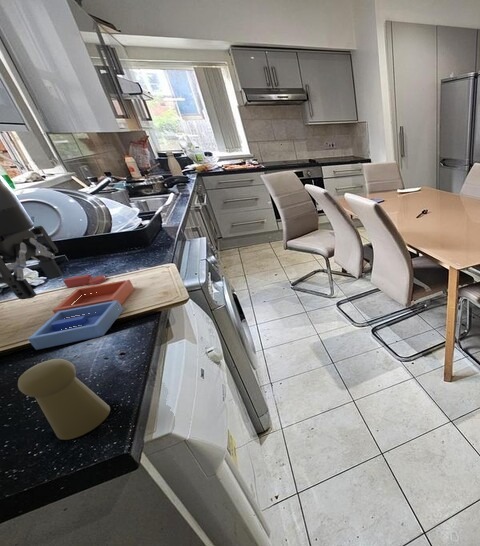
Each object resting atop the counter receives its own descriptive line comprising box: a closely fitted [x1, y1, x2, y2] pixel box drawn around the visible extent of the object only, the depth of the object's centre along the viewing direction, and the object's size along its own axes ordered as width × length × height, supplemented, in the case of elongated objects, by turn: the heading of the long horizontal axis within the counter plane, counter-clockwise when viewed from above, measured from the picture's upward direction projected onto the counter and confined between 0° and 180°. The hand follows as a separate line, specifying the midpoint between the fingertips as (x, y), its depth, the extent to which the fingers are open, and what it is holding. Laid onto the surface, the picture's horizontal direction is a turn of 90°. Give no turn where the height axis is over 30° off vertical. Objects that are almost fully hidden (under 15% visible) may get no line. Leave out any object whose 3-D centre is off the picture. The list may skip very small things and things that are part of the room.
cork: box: [17, 358, 111, 441], centre depth 44 cm, size 6×6×11 cm
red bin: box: [51, 279, 135, 315], centre depth 76 cm, size 11×10×3 cm
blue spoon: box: [51, 315, 101, 332], centre depth 67 cm, size 8×3×2 cm, turn 110°
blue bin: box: [27, 300, 124, 351], centre depth 67 cm, size 11×10×3 cm
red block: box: [62, 274, 107, 289], centre depth 85 cm, size 8×3×2 cm, turn 110°
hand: (43, 286), depth 62 cm, fingers open, 8 cm apart
